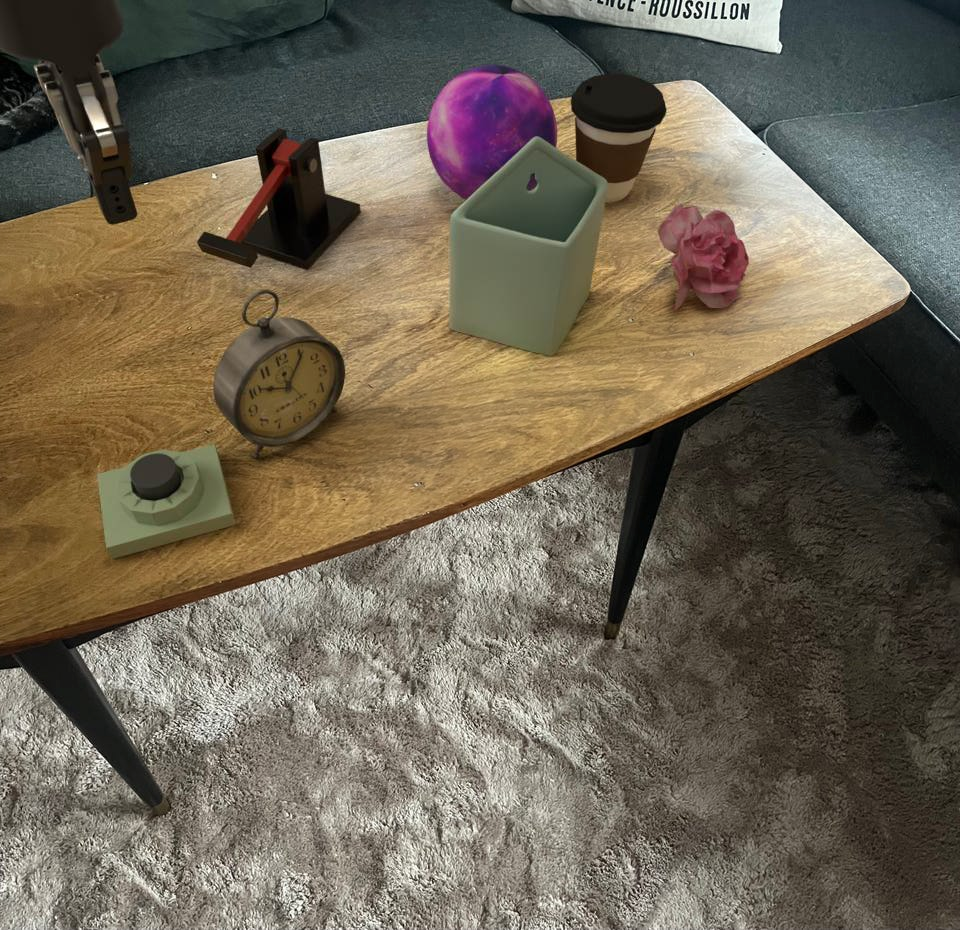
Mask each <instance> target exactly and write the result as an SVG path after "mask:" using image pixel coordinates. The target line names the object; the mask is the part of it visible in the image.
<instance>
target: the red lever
mask: <svg viewBox="0 0 960 930" xmlns="http://www.w3.org/2000/svg"><path fill="white" fill-rule="evenodd" d="M287 139H288V138H287ZM287 139H284V140H283V141H282V142H281V144H280V145H279V147H278V148H277V150H276V151H275V152H274V154H273V155H272V160H273V162H274V165H275V168H274V169H273V171H272V172H271V174H270V175H269V177H268V178H267V180H266V181H265V183H264V184H263V183H262V185H261V187H260V188H259V190H258V191H257V193H256V194H255V195H254V197H253V198H252V199H251V201H250V202H249V205H247V207H246V208H245V210H244V212H243V213H242V215H241V216H240V217H239V218H238V220H237V222H236V223H235V224H234V225H233V227H232V229H231V231H229V233H228V234H227V236H226V237H223V236H219V235H218V234H214V233H210V232H209V231H203V232H202V234H201V235H200V236H199V238H198V239H197V241H196V244H197V246H198V247H199V250H200V252H202V253H204V254H207V255H210V256H213V257H215V258H219V259H222V260H226V261H229V262H232V263H234V264H237V265H241V266H243V267H246V268H249V269H252V267H253V266H254V265H255V263H256V262H257V260H258V259H259V256H258V255H259V254H257V253H256V251H255V249H254V248H253V247H251V246H247V245H244V244H241V242H242V241H243V239H244V238H245V236H246V235H247V233H248V232H249V231H250V229H251V228H252V226H253V225H254V223H255V222H256V220H257V219H258V218H259V217H260V216H261V215H262V214H263V212H264V210H265V208H267V204H268V203H269V201H270V200H271V198H272V197H273V195H274V194H275V192H276V191H277V189H278V188H279V186H280V185H281V183H282V182H283V180H284V179H285V177H286V176H288V177H291V171H290V165H289V158H288V157H289V156H290V155H291V154H292V153H293V152H294V151H296V150H297V149H298V148H299V147H300V146H301V145H302V144H303V143H300V142H297V141H294V140H290V139H288V140H287Z"/></svg>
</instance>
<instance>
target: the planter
mask: <svg viewBox="0 0 960 930" xmlns="http://www.w3.org/2000/svg"><path fill="white" fill-rule="evenodd" d="M532 173H535V179H536V181H537V186H536V187H535V188H534V189H533V190H531V191H527V189H526V186H527V184H528V183H529V181H530V176H531V174H532ZM607 187H608V183H607V181H606V179H605V178H603V177H602V176H600V175H598V174H596V173H595V172H593V171H592V170H590V169H588V168H587V167H585V166H584V165H582V164H581V163H579V162H577V161H576V159H574V158H572V157H571V156H569V155H568V154H566V153H564V152H563V151H561V150H559V148H557V147H556V148H555V147H554V146H552V145H551V144H549V143H548V142H546V141H545V140H543V139H542V138H540V137H538V136H536V137H534V138H532V139H531V140H530V141H529V142H528V143H527V144H526V145H525V146H524V147H523V148H522V149H521V150H520V151H519V152H518V153H517V154H516V155H515V156H514V157H512V158H511V159H510V160H509V161H508V162H507V163H506V164H505V165H504V166H503V167H502V168H501V169H500V170H498V171H497V172H496V173H495V174H494V175H493V176H492V177H491V178H490V179H489V180H487V181H486V182H485V183H484V184H483V185H482V186H481V187H480V188H479V189H478V190H477V191H475V192H474V193H473V194H472V195H471V196H470V197H469V198H468V199H465V200H464V202H463V203H461V204H460V205H459V206H458V207H457V208H456V209H455V210H454V211H453V212H452V213H451V215H450V218H449V285H448V287H449V288H448V289H449V290H448V291H449V293H448V294H449V307H448V309H449V310H448V311H449V312H448V313H449V314H448V315H449V316H448V317H449V318H448V327H449V329H450V330H452V331H454V332H458V333H460V334H465V335H469V336H472V337H477V338H479V339H483V340H487V341H491V342H494V343H498V344H503V345H505V346H509V347H511V348H516V349H520V350H523V351H527V352H532V353H536V354H540V355H545V356H549V357H551V356H554V355H555V354H556V352H557V351H558V349H559V348H560V346H561V345H562V344H563V342H564V341H565V340H566V338H567V336H568V334H569V332H570V330H571V329H572V326H573V325H574V323H575V321H576V319H577V317H578V316H579V313H580V312H581V310H582V308H583V306H584V304H585V303H586V301H587V299H588V298H589V295H590V293H591V292H590V291H591V287H592V282H593V281H592V280H593V276H594V275H593V274H594V269H595V263H596V259H597V258H596V257H597V253H598V246H599V240H600V234H601V229H602V224H603V223H602V222H603V217H604V212H605V206H606V202H605V201H606V194H607Z"/></svg>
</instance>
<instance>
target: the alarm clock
mask: <svg viewBox="0 0 960 930" xmlns="http://www.w3.org/2000/svg"><path fill="white" fill-rule="evenodd" d="M265 294H267V295H271V296H272V297H273V299H274V307H273V308H274V309H273V310H272V313H271V314H270V315H269V316H268V317H266V316H263V317H260V318H258V319H257V323H253V322H250V321H249V320H248V319H247V310H248V307H249V306H250V304H251V302H252V301H254V299H256V298H257V297H259V296H261V295H265ZM279 304H280V299H279V296H278V294H277V293H276V292H275V291H273V290H271V289H265V288H263V289H260V290H258V291H256V292H254V293H252V294H251V295H250V296H249V297H248V298H247V300H246V301H245V302H244V304H243V307H242V310H241V318H242V320H243V322H244V323H245V324H246V325H247V326H250V327H248V328H246V329H245V330H244V331H243V332H241V333H240V334H239V335H238V336H237V337H235V338H234V340H233V341H231V343H230V344H229V345H228V347H226V349H225V350H224V352H223V354H222V355H221V357H220V359H219V361H218V363H217V366H216V369H215V371H214V372H215V373H214V377H213V382H212V384H213V385H212V387H213V388H212V390H213V397H214V401H215V404H216V406H217V408H218V410H219V412H220V413H221V414H222V416H223V417H224V418H225V419H226V420H227V421H228V422H229V423H230V424H231V425H232V426H233V427H234V429H236V430H237V432H238V433H239V434H240V435H241V437H242V438H244V439H245V440H246V441H248V442H249V443H251V444H254V445H255V449H254V452H253V453H252V458H253V459H254V460H259V459H260V456H261V455H260V453H261V452H262V451H263V449H264V447H267V448H273V447H282V446H284V445H288V444H292V443H294V442H296V441H298V440H301V439H302V438H304V437H306V436H308V435H309V434H310V433H312V432H314V430H316V429H317V428H318V427H319V426H320V425H321V424H322V423H323V422H324V421H325V420H326V419H327V418H328V417H329V415H330V414H331V413H332V414H333V415H335V414H337V413H338V408H337V406H336V405H337V403H338V401H339V399H340V397H341V394H342V391H343V389H344V386H345V385H344V384H345V379H346V365H345V360H344V358H343V355H342V353H341V351H340V349H339V348H338V347H337V346H336V345H335V344H334V342H331V340H330V341H329V340H328V339H327V338H326V337H325V335H323V334H321V333H320V332H319V331H318V330H317V329H316V328H314V327H313V326H312V325H311V324H309V323H307V322H306V321H304V320H302V319H298V318H296V317H295V318H294V317H287V316H282V317H281V316H280V317H275V315H277V312H278V310H279Z"/></svg>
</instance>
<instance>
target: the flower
mask: <svg viewBox="0 0 960 930" xmlns="http://www.w3.org/2000/svg"><path fill="white" fill-rule="evenodd" d="M657 234H658V236H659V241H660V242H661V244H662V247H663V248H664V249H666V250H667V251H669V252H671V253H672V254H674V255H673V256H672V257H671V258H670V259H669V260H668V261H667V262H664V263H663V265H666V264H670V265H671V267H672V270H673V276H674V278H675V281H676V282H677V283H678V289H677V290H676V292H675V295H676V296H675V297H676V299H675V302H674V305H673V310H674V311H675V312H676V311H677V310H678V309H679V308H680V306H682V304H683V303H684V302H685V300H686V298H687V297H688V295H689V293H690V292H691V290H693V292H694V294H695V295H696V296H697V298H698V299H699V300H700V301H701V302H702V303H704V304H705V305H706V306H707V307H708V308H712V309H724V308H727V307H729V306H730V304H731V303H733V302H735V301H737V300H738V299H739V297H740V292H739V290H738V289H739V287H740V285H741V282H742V281H743V280H744V278H745V277H746V271H747V268H748V266H749V265H750V263H749V261H750V258H749V255H748V253H747V249H746V246H745V243H744V242H743V240H742V239H740V238H738V235H737V233H736V227H735V223H734V221H733V219H731V216H729V215H728V214H727V212H725V211H722V210H719V209H716V210H715V209H714V210H712V211H710V212H709V213H707V214H706V215H705V216H704V217H703V215H702V214H701V212H700V210H699V208H698V206H695V205H690V206H683V203H680V204H677V205H674V206H673V208H672V209H671V211H670V212H669V213H668V214H667V216H666V217H665V218H664V219H663V221H662V222H661V224H660V225H659V227H658V229H657ZM660 265H662V263H661V264H660V263H659V266H660ZM656 266H657V264H653V265H650V267H656Z"/></svg>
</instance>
